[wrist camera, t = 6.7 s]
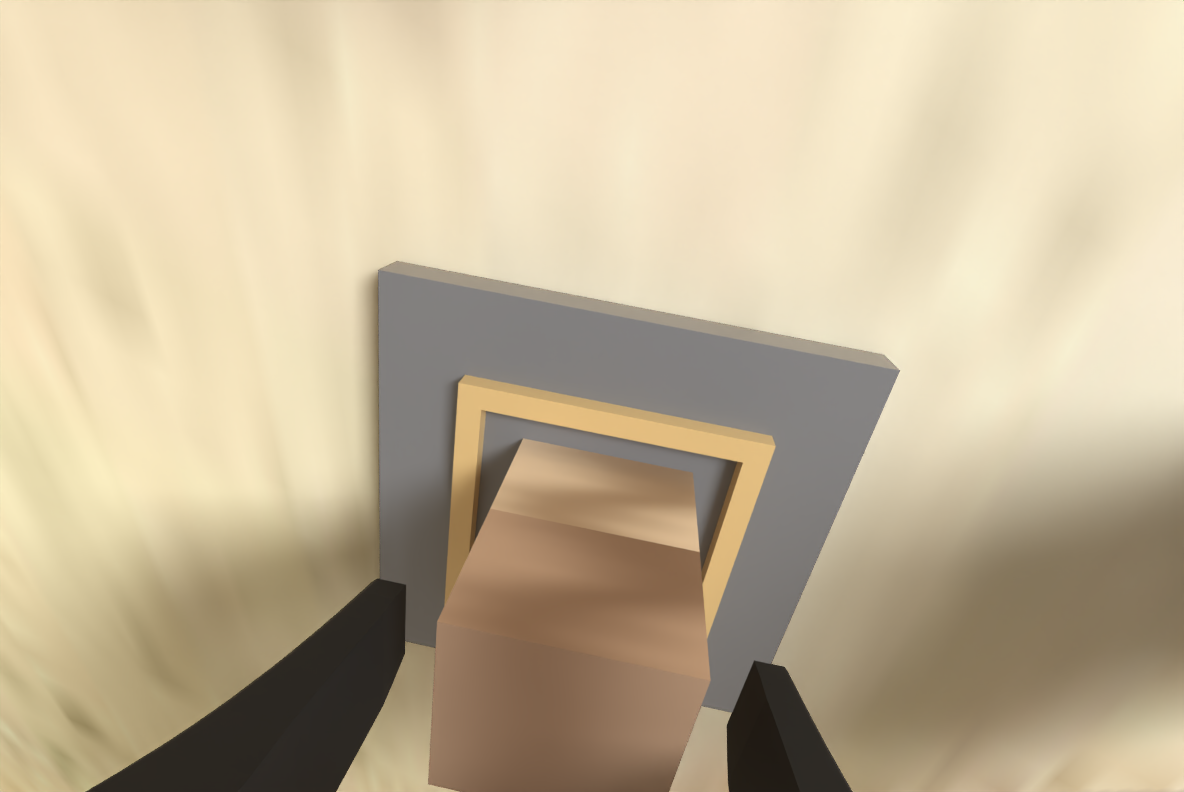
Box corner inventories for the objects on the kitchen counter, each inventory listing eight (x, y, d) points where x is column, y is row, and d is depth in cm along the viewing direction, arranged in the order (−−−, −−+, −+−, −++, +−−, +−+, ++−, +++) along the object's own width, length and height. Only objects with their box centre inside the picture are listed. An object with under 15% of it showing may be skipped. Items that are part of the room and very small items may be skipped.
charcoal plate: (883, 354, 13) (909, 379, 12) (744, 687, 18) (750, 731, 17) (397, 261, 14) (367, 274, 12) (393, 612, 19) (372, 648, 18)
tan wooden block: (692, 472, 14) (710, 681, 9) (656, 599, 16) (652, 835, 11) (523, 438, 14) (437, 621, 9) (507, 568, 16) (427, 784, 11)
